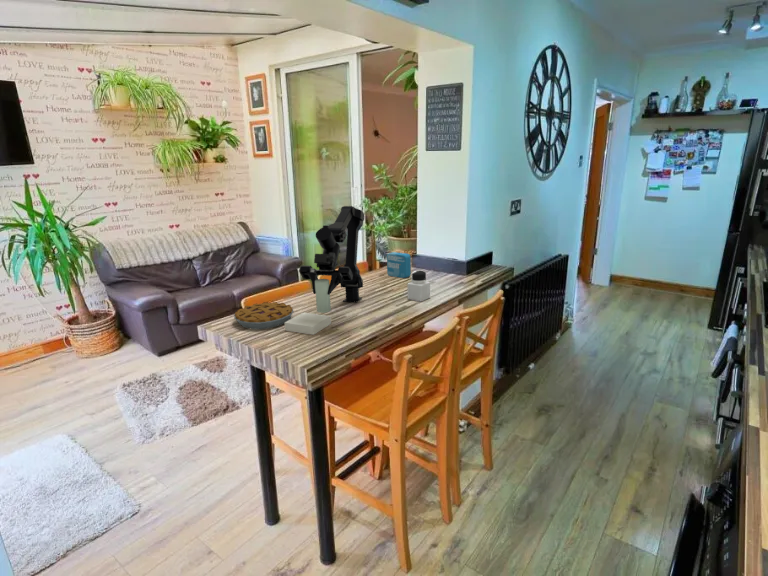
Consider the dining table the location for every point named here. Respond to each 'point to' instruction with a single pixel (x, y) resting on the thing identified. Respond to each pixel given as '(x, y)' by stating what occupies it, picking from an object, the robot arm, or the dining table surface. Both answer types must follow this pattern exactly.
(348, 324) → the dining table surface
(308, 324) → the stand
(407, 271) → the data package
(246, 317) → the pie
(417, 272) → the medicine bottle
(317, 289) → the ball
